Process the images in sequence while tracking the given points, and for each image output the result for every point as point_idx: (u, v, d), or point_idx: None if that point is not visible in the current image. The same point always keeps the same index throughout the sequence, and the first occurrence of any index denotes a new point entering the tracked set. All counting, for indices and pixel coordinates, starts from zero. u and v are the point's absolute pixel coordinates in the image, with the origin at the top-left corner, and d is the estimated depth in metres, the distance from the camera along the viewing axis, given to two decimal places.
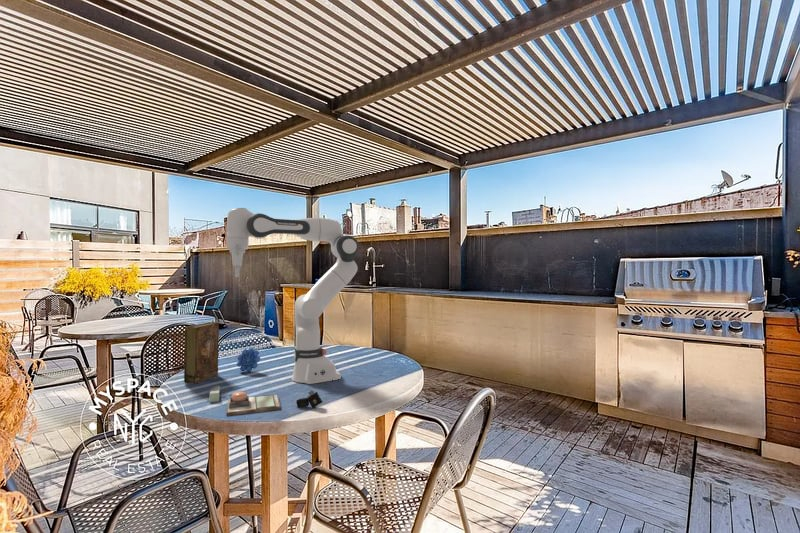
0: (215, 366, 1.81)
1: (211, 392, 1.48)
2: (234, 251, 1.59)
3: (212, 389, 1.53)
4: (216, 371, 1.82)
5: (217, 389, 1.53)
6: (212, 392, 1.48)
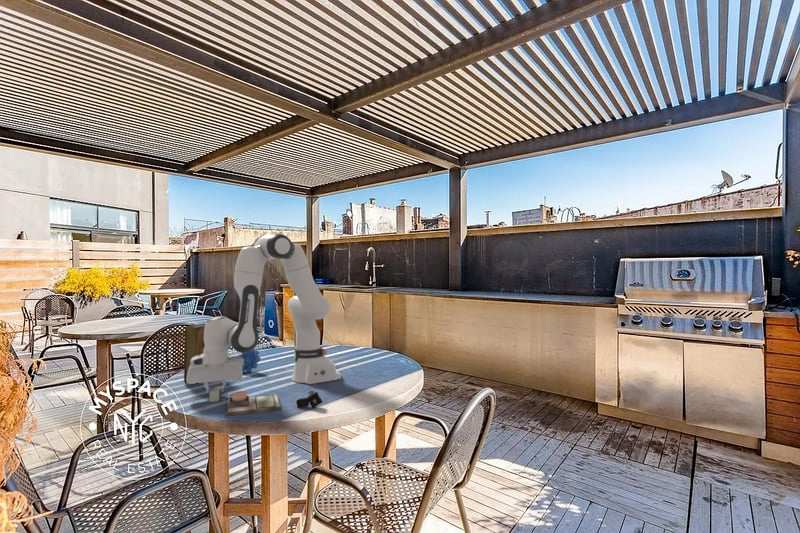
0: None
1: (211, 392, 1.48)
2: (240, 364, 1.55)
3: (212, 389, 1.53)
4: None
5: (217, 389, 1.53)
6: (212, 392, 1.48)
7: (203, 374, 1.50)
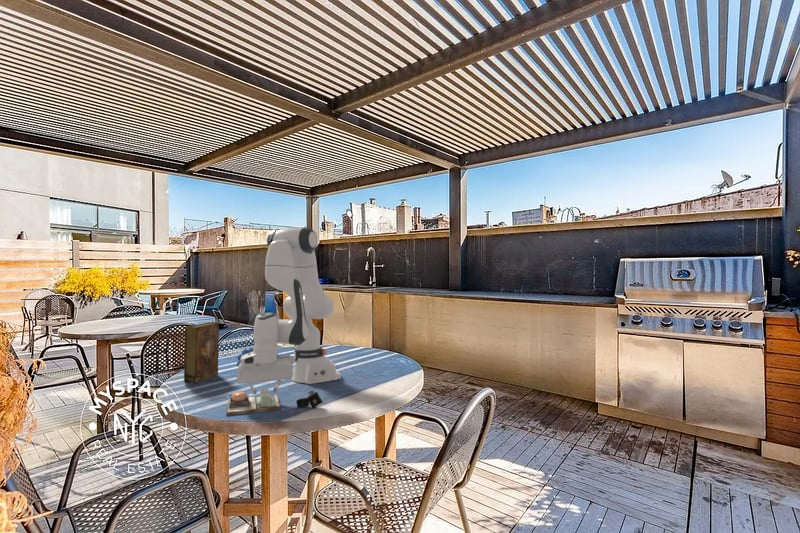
0: (215, 366, 1.81)
1: (262, 396, 1.41)
2: (291, 363, 1.48)
3: (262, 392, 1.45)
4: (216, 371, 1.82)
5: (267, 392, 1.46)
6: (263, 396, 1.41)
7: (253, 373, 1.43)
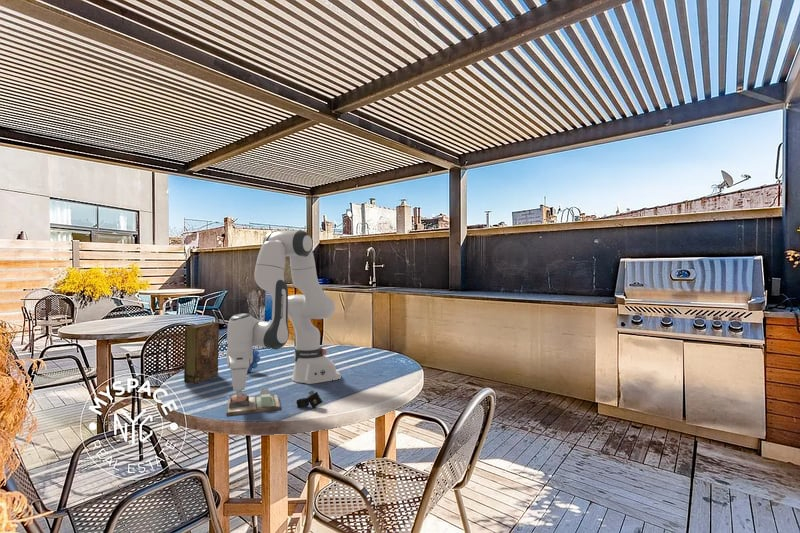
0: (215, 366, 1.81)
1: (262, 396, 1.41)
2: None
3: (262, 392, 1.45)
4: (216, 371, 1.82)
5: (267, 392, 1.46)
6: (263, 396, 1.41)
7: None
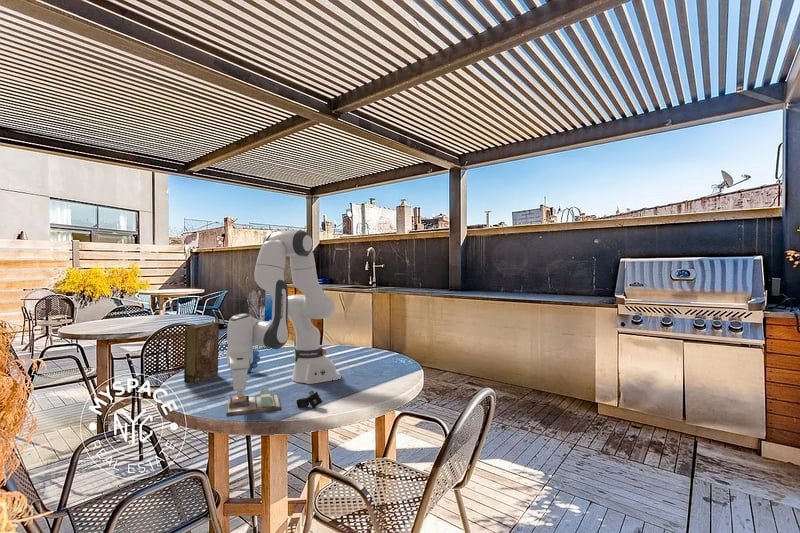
0: (215, 366, 1.81)
1: (262, 396, 1.41)
2: None
3: (262, 392, 1.45)
4: (216, 371, 1.82)
5: (267, 392, 1.46)
6: (263, 396, 1.41)
7: None
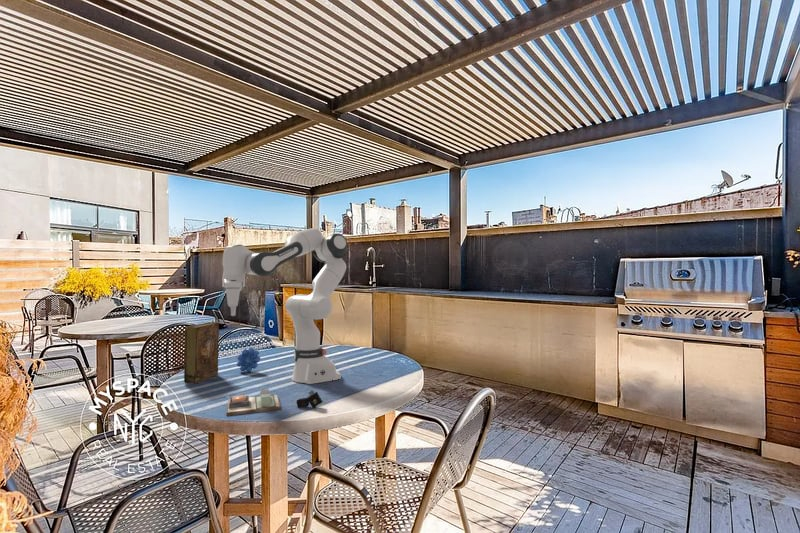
0: (215, 366, 1.81)
1: (262, 396, 1.41)
2: None
3: (262, 392, 1.45)
4: (216, 371, 1.82)
5: (267, 392, 1.46)
6: (263, 396, 1.41)
7: None
